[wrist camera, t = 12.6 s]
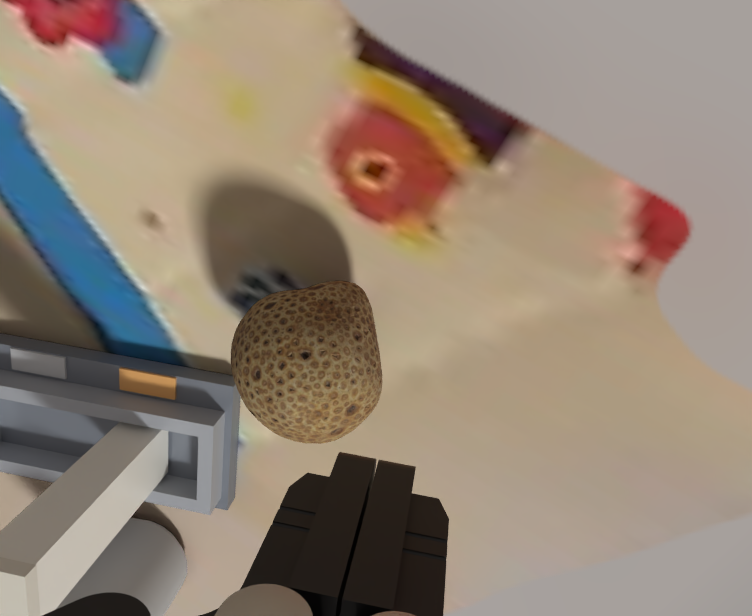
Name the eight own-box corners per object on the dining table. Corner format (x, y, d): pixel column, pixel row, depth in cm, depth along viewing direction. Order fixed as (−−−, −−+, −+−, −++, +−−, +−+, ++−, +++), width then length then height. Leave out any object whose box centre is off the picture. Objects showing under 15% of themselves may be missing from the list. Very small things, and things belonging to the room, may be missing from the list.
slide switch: (-1, 449, 48) (-36, 475, 45) (-12, 331, 45) (-51, 349, 41) (235, 497, 46) (216, 528, 43) (241, 377, 43) (222, 400, 39)
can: (86, 522, 49) (-28, 648, 38) (166, 501, 47) (69, 627, 36) (130, 596, 51) (33, 737, 40) (208, 578, 49) (129, 721, 38)
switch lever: (125, 465, 44) (-33, 633, 30) (124, 411, 43) (-43, 561, 29) (170, 474, 44) (31, 648, 30) (171, 420, 42) (24, 577, 29)
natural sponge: (264, 388, 43) (206, 469, 33) (254, 262, 40) (187, 313, 30) (395, 394, 41) (372, 481, 32) (394, 265, 38) (369, 320, 29)
